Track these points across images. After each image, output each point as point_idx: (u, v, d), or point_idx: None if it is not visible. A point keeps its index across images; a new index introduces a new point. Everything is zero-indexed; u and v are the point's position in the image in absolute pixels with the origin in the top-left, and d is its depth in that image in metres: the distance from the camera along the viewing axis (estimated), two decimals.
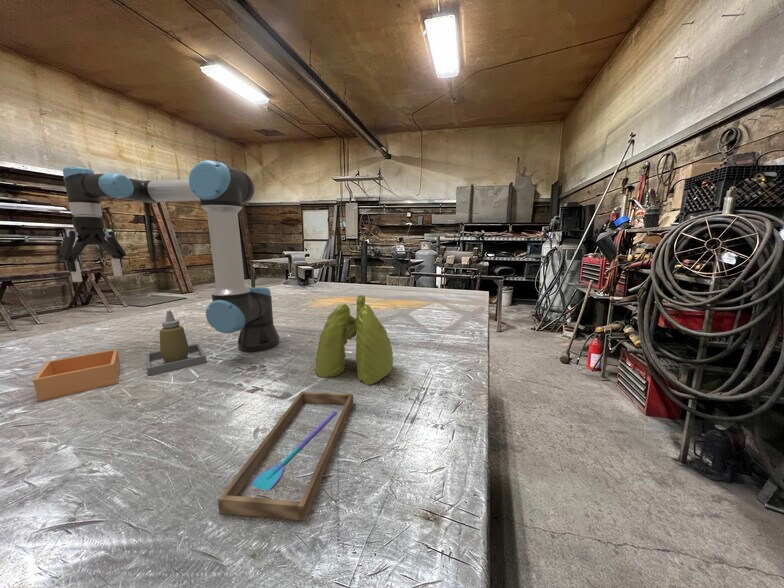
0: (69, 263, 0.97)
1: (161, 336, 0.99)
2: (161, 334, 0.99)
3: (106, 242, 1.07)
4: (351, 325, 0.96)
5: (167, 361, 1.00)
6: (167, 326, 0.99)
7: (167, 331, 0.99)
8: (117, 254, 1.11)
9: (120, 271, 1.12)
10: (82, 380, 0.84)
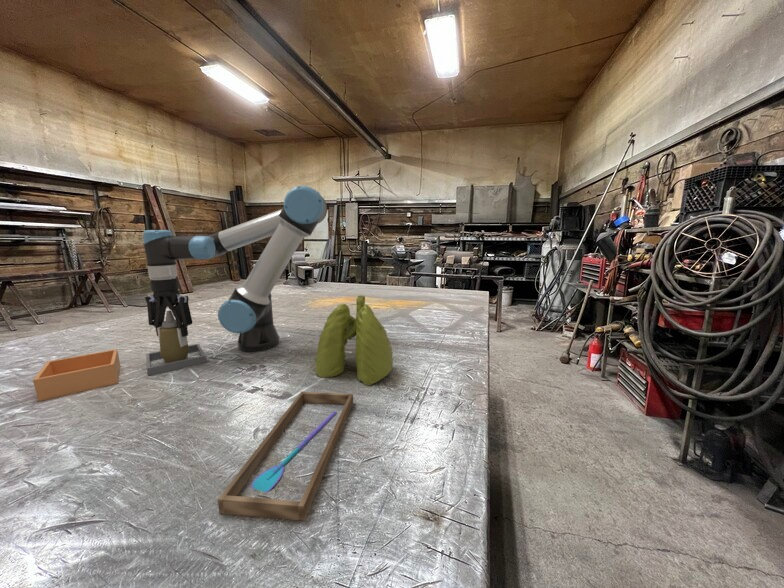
0: None
1: (161, 336, 0.99)
2: (161, 334, 0.99)
3: (170, 307, 0.98)
4: (351, 325, 0.96)
5: (167, 361, 1.00)
6: (167, 326, 0.99)
7: (167, 331, 0.99)
8: (178, 322, 1.00)
9: (179, 341, 1.01)
10: (82, 380, 0.84)
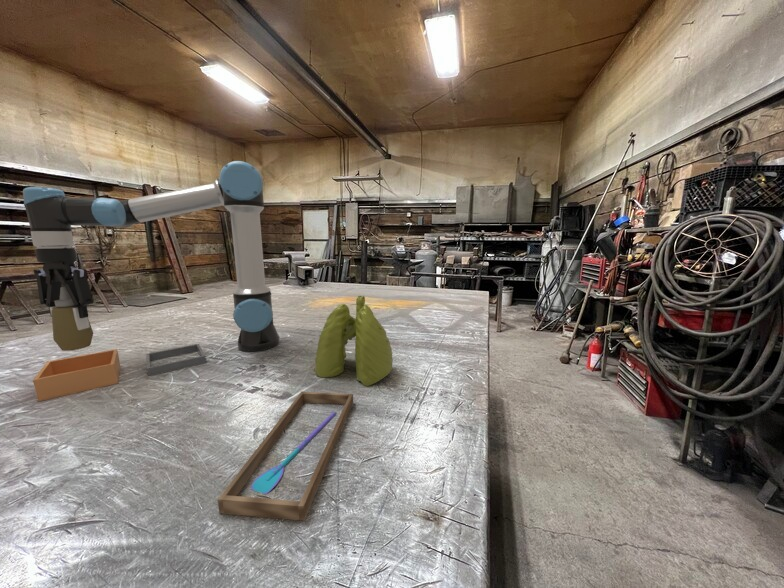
0: None
1: (52, 316, 0.83)
2: (52, 314, 0.83)
3: (62, 282, 0.82)
4: (351, 325, 0.96)
5: (61, 347, 0.84)
6: (59, 304, 0.83)
7: (59, 311, 0.83)
8: (74, 301, 0.84)
9: (76, 324, 0.85)
10: (82, 380, 0.84)
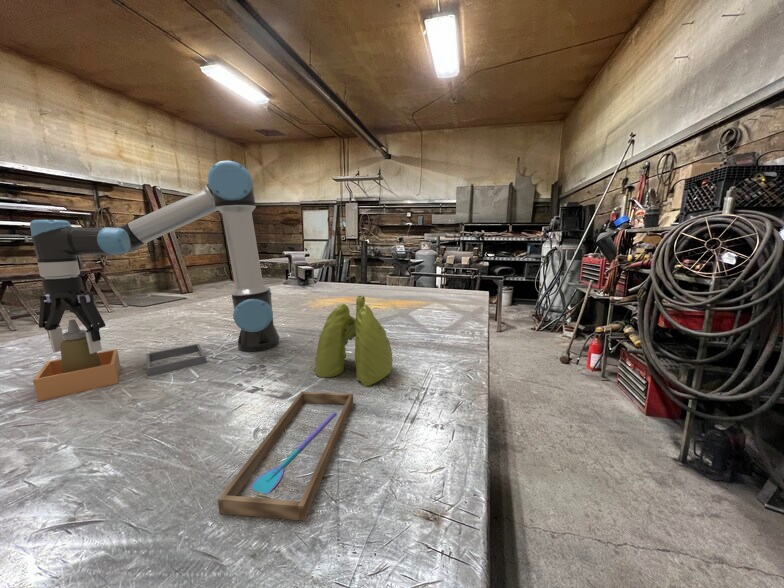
0: None
1: (61, 350, 0.85)
2: (61, 347, 0.85)
3: (71, 309, 0.84)
4: (351, 325, 0.96)
5: None
6: (68, 338, 0.85)
7: (67, 344, 0.84)
8: (86, 325, 0.85)
9: (89, 347, 0.86)
10: (82, 380, 0.84)
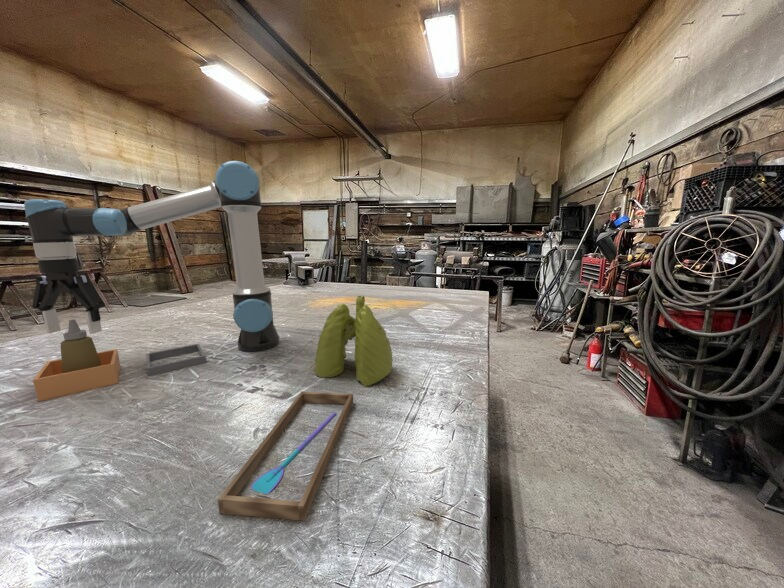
0: None
1: (61, 349, 0.85)
2: (61, 347, 0.85)
3: (68, 290, 0.83)
4: (351, 325, 0.96)
5: None
6: (68, 337, 0.85)
7: (67, 344, 0.85)
8: (85, 305, 0.84)
9: (89, 327, 0.85)
10: (82, 380, 0.84)
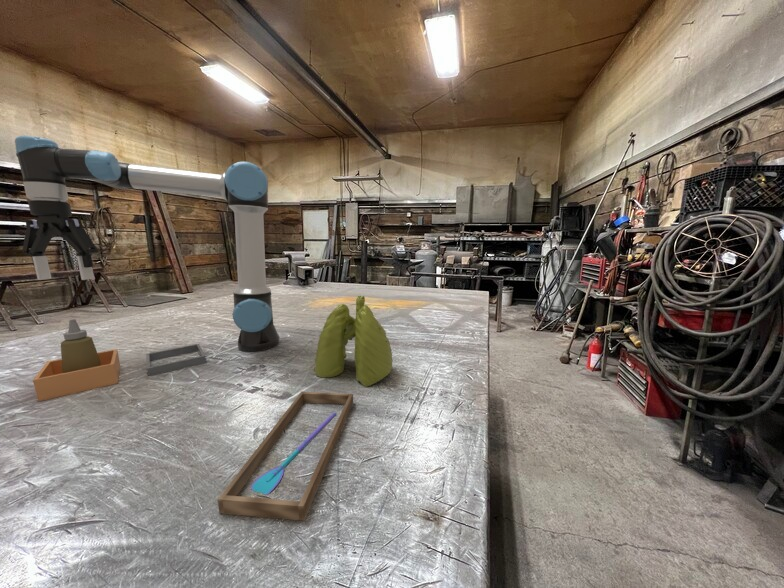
0: None
1: (61, 349, 0.85)
2: (61, 347, 0.85)
3: (59, 233, 0.81)
4: (351, 325, 0.95)
5: None
6: (68, 337, 0.85)
7: (67, 344, 0.85)
8: (77, 250, 0.82)
9: (81, 273, 0.83)
10: (82, 380, 0.84)
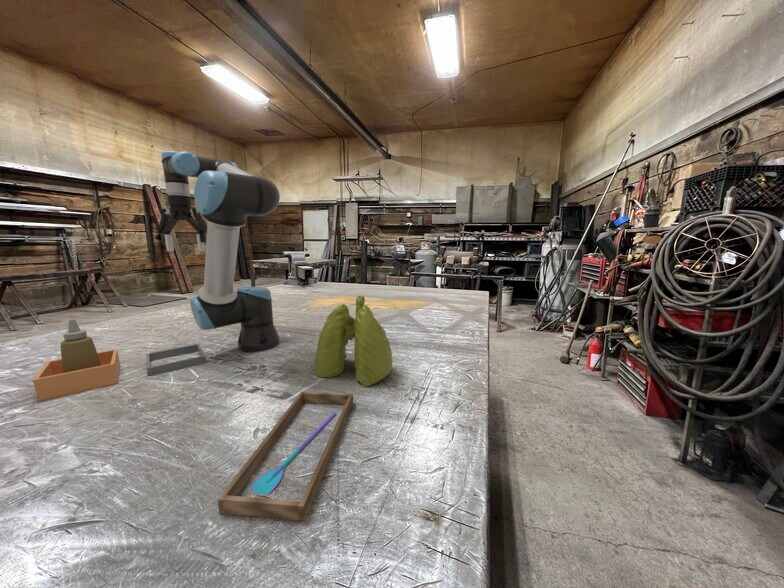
0: None
1: (61, 349, 0.85)
2: (61, 347, 0.85)
3: (186, 218, 1.16)
4: (351, 326, 0.95)
5: None
6: (68, 337, 0.85)
7: (67, 344, 0.85)
8: (197, 230, 1.17)
9: (198, 246, 1.18)
10: (82, 380, 0.84)
